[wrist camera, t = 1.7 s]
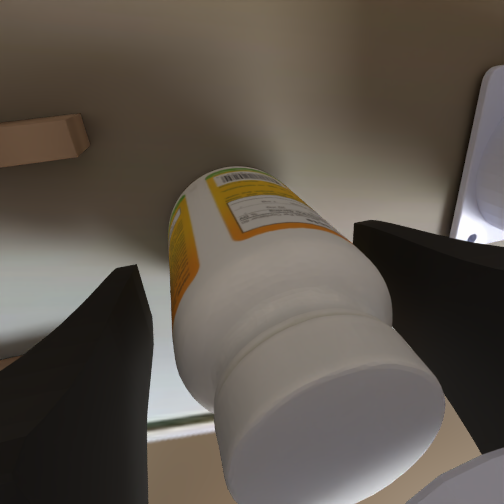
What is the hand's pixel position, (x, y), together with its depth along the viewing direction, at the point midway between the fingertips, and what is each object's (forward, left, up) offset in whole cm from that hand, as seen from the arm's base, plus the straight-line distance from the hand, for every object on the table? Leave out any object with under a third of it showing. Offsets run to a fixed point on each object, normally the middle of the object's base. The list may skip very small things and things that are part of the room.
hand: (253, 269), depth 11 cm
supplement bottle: (0, 0, -4) cm, 4 cm away
